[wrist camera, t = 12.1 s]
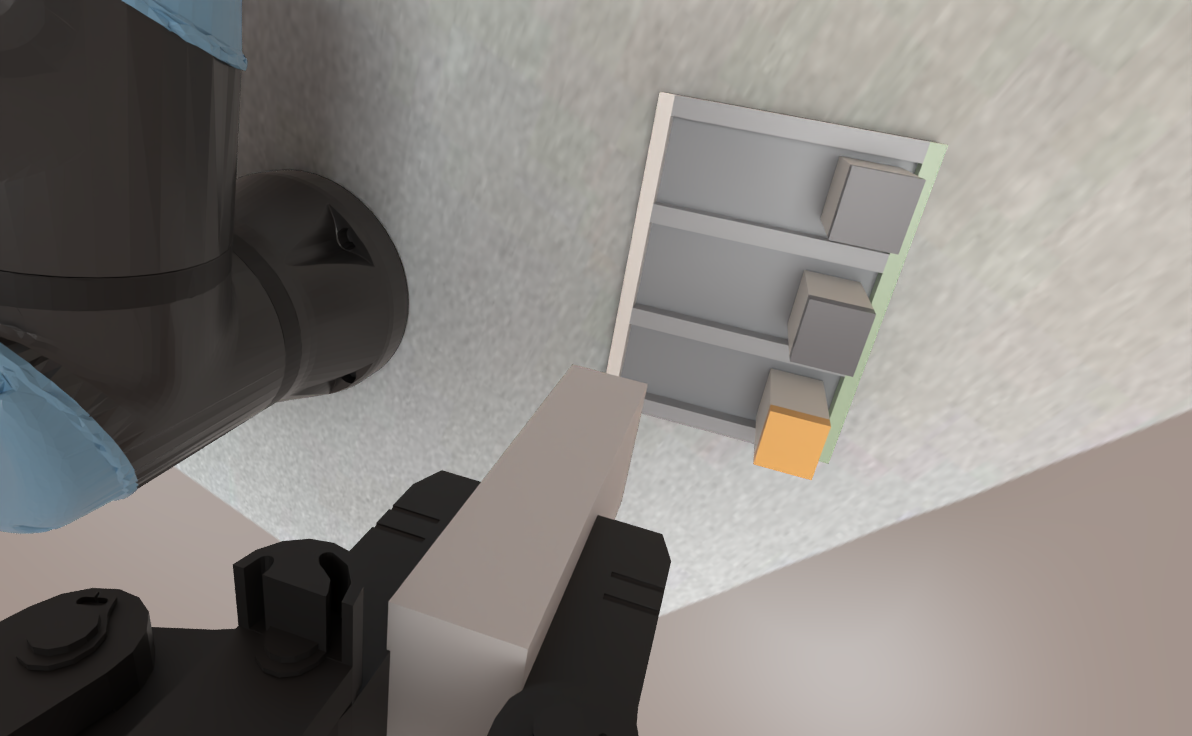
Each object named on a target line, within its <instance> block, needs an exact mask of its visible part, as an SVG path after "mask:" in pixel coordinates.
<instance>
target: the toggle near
mask: <svg viewBox="0 0 1192 736" xmlns="http://www.w3.org/2000/svg"><path fill="white" fill-rule="evenodd" d="M925 181H926V180H925V179H923V178H921V177H919V176H917V175H915V174H913V173H911V172H909V171H907V170H905V169H903V168H901V167H895V166H890V165H885V164H880V163H875V162H869V161H864V160H859V159H854V158H849V157H843V156H840V157H839V160H838V163H837V166H836V170H835V173H834V176H833V179H832V183H831V186H830V189H829V192H828V195H827V199H826V202H825V205H824V208H823V212H822V215H821V218H820V219H821V222H822V224H823V227H824V229H825V232H826V234H827V237H828V239H829V240H832V241H837V242H841V243H846V244H851V245H855V246H860V247H865V248H869V249H874V250H879V251H883V252H888V253H893V254H897V255H898V254H899V252H900V249H901V246H902V244H903V241H904V238H905V236H906V233H907V230H908V227H909V225H910V222H911V219H912V217H913V214H914V211H915V209H916V206H917V203H918V200H919V198H920V195H921V192H922V190H923V187H924V184H925Z"/></svg>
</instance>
